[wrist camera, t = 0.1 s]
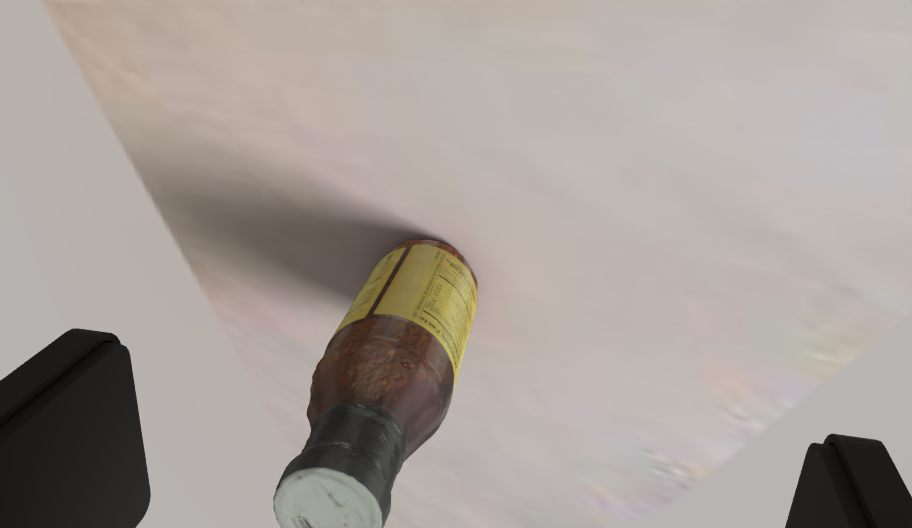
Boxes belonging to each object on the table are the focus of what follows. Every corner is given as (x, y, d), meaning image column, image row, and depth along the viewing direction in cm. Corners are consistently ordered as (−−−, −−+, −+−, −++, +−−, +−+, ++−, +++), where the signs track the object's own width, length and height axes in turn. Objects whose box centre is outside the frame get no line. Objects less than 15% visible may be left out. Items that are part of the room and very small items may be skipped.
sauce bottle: (391, 334, 47) (253, 587, 29) (367, 238, 44) (202, 449, 26) (496, 324, 45) (420, 587, 27) (477, 225, 43) (381, 440, 25)
